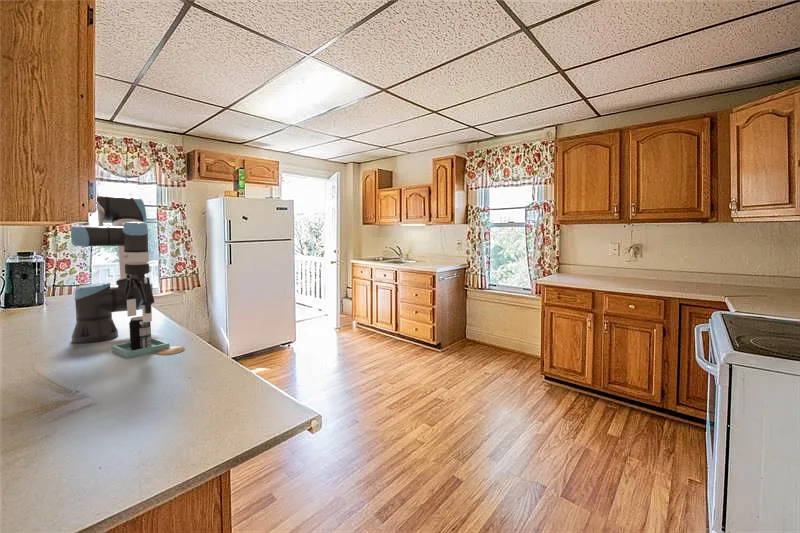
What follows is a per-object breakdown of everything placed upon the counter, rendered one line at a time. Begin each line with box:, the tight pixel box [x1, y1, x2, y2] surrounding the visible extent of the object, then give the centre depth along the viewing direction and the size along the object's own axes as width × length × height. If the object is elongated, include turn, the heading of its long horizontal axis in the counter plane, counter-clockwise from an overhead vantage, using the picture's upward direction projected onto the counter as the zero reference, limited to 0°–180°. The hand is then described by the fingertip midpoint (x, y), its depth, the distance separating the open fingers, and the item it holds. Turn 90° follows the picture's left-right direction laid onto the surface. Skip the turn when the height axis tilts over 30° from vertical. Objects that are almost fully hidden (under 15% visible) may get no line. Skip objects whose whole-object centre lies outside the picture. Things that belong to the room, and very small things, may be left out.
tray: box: [111, 337, 171, 359], centre depth 140 cm, size 14×14×2 cm
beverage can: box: [128, 315, 152, 350], centre depth 140 cm, size 7×7×12 cm
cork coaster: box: [155, 345, 185, 356], centre depth 140 cm, size 9×9×1 cm
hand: (139, 318), depth 140 cm, fingers open, 13 cm apart
